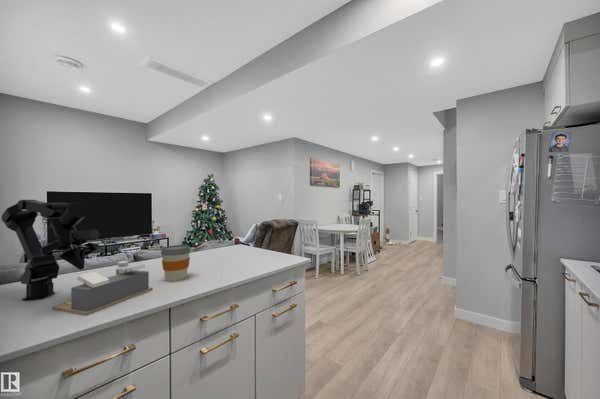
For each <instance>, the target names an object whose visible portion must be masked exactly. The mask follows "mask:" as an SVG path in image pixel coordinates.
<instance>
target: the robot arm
mask: <svg viewBox="0 0 600 399" xmlns="http://www.w3.org/2000/svg"><path fill="white" fill-rule="evenodd" d="M39 214H40V216H41V217H43V218H45V219H53V220H51V221H50V223H49V224H48V229H52V230H53V233H54V235H55V236H54V237H52V239H53V241H52V242H49V243H47V244H46V245H44V246H43V245H42V243H41V241H40V239H39V237H38V235H37V233H36V231H35V229H34V226H33V225H34V224H35V221H36V220H37V219H36V218H37V217H38V216H39ZM86 216H88V210H87V209H86V208H85V207H83V206H82V205H80V204H78V202H70V203H68V202H45V201H40V200H36V199H20V200H18V201H17V202H16V204H13V205H11V206H10V207H7V208H5V211H4V212H3V213H2V214H1V221H2V222H3V223H4V225H5V227H6V228H7V229H10V230H11V231H14V232H15V233H16V236H17V238H18V241H19V243H20V245H21V247H22V249H23V252H24V254H25V257H26V258H27V263H26V266H25V267H24V270H25V271H24V272H23V274H22V275H21V276H20V283H21V284H23V285H26V288H25V290H26V293H25V296H26V297H24V298H22V299H21V300H22V301H28V300H30V301H31V300H42V299H44V298H47V297H49V296H51V295H52V296H53V294H56V291H54V282H53V279H57V278H58V275H59V270H60V264H59V263H58V261H57V260H56V256H55V255H54V254H53V253H54V252H53V251H55V252H61V254H60V255H58V258H61V259H62V260H64V261H66V262H68V263H69V264H71V265H72V266H74V267H75V268H77V269H78V270H83V269H85V258H86V256H88V255H90V254H93V252H96V251H98V250H100V249H101V247H100V245H99V243H95V242H87V241H92V240H93V241H94V240H95V241H96V240H97V239H98V238H99V237H100V233H99V231H98V230H97V229H86V230H77V229H76V227H75V226H76V225H78V224H79V223H80V222H81V221H82V220H83V219H84V218H85V217H86Z"/></svg>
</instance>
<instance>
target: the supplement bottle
mask: <svg viewBox="0 0 600 399" xmlns="http://www.w3.org/2000/svg"><path fill="white" fill-rule="evenodd" d="M128 267H131V266H130V263H129V260H121V261H118V262H117V267H116V268H115V275H119V274H122V273H119V272H118V270H120V269H124V268H128ZM124 273H125V272H124Z"/></svg>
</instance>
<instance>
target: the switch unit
mask: <svg viewBox="0 0 600 399" xmlns="http://www.w3.org/2000/svg"><path fill="white" fill-rule="evenodd" d="M149 274H150V273H149V271H145V270H139V269H138V270H135V271H131V272H128V273H122V274H119V275H116V274H115V275H112V276H109V277H107V278H108V279H109V283H108V284H104V285H101V286H98V287H94V288H92V287H90V286H88V285H86V284H84V283H83V284H80V285H77V286H73V287H70V288H71V289H70V290H71V294H70V295H71V296H70V299H71V300H69V301H66V302H64V303H61V304H57V305H54V306H52V308H51V309H52V310H54V311H60V312H66V313H71V314H76V315H81V316H89V315H91V314H93V313H96V312H99V311H102V310H104V309H107V308H109V307H112V306H114V305H116V304H119V303H123V302H124V301H127V300H130V299H132V298H135V297H138V296H140V295H143V294H146V293H148V292H150V291H152V290H153V287H151V286H150V285H149V280H150V279H149V278H150V277H149Z"/></svg>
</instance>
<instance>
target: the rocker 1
mask: <svg viewBox="0 0 600 399" xmlns="http://www.w3.org/2000/svg"><path fill="white" fill-rule="evenodd" d="M76 278H77V279H76V280H77V281H79V282H81V283H83V284H86V285H88V286H90V287H92V288H94V287H98V286H101V285H104V284H108V283H109V279H108V277H105V276H104V275H102V274H100V273H98V272H96V271H91V272H87V273H83V274H78V275H77V277H76Z"/></svg>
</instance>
